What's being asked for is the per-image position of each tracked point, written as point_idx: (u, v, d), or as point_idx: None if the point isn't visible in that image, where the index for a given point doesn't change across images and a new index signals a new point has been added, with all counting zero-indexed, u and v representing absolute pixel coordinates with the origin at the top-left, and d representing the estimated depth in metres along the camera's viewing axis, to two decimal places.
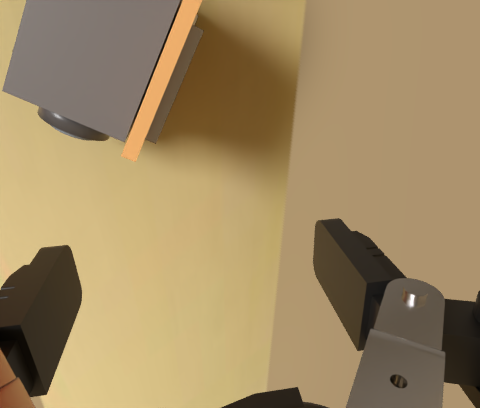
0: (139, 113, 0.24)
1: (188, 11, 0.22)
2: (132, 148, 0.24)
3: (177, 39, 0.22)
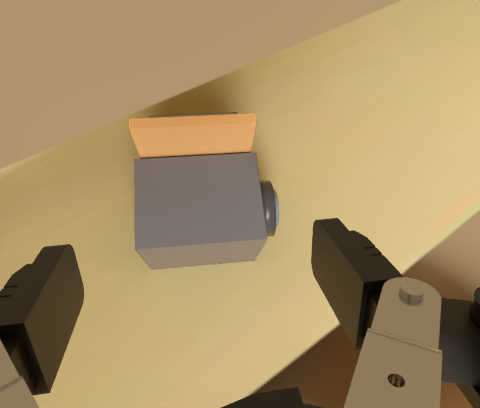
0: (220, 123, 0.32)
1: (141, 122, 0.31)
2: (247, 118, 0.32)
3: (161, 121, 0.32)
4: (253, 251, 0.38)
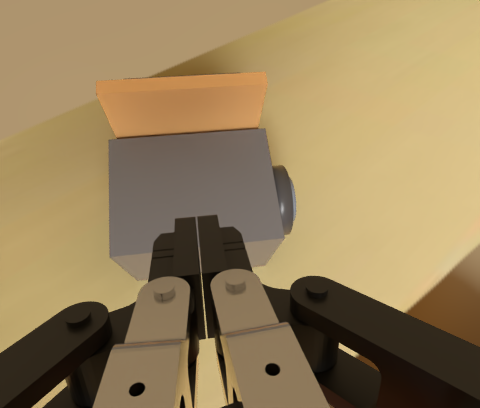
0: (220, 85, 0.24)
1: (112, 86, 0.23)
2: (254, 78, 0.24)
3: (139, 84, 0.23)
4: (264, 254, 0.30)
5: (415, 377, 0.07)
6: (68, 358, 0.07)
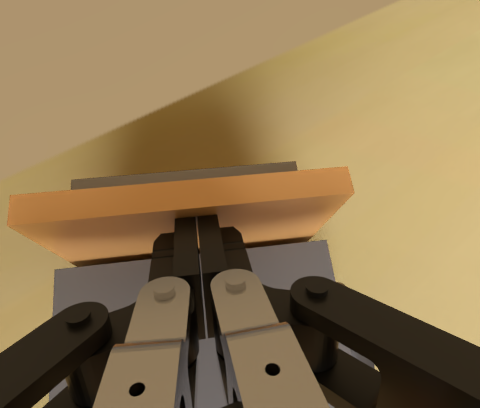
0: (261, 199, 0.12)
1: (43, 206, 0.11)
2: (328, 181, 0.12)
3: (100, 200, 0.12)
4: None
5: (415, 377, 0.07)
6: (68, 358, 0.07)
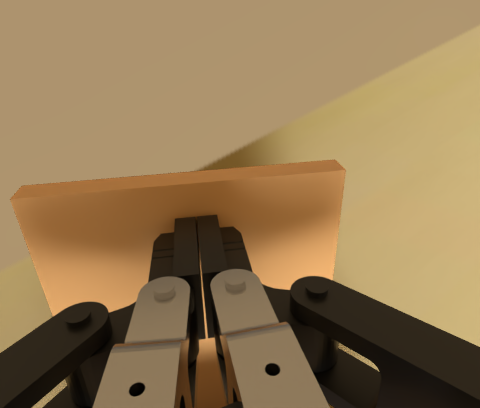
0: (256, 176, 0.12)
1: (49, 189, 0.12)
2: (318, 166, 0.13)
3: (102, 184, 0.12)
4: None
5: (415, 377, 0.07)
6: (69, 357, 0.07)
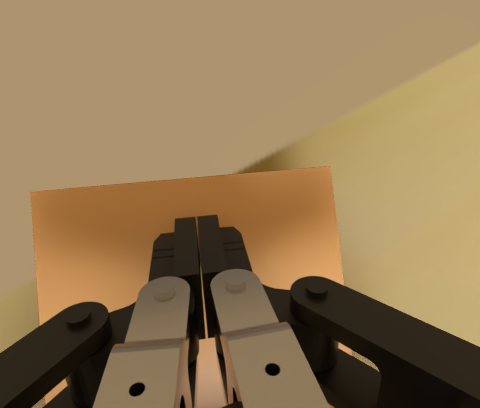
0: (249, 173, 0.14)
1: None
2: None
3: None
4: None
5: (415, 377, 0.07)
6: (69, 358, 0.07)
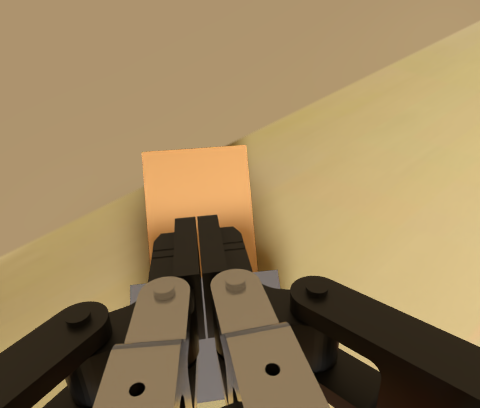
0: (216, 147, 0.39)
1: None
2: None
3: None
4: None
5: (415, 377, 0.07)
6: (68, 357, 0.07)
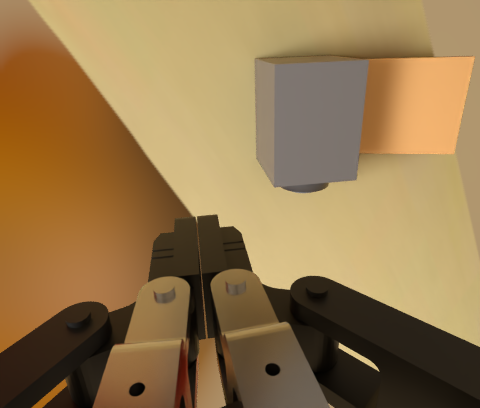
0: (459, 127, 0.43)
1: None
2: None
3: None
4: (264, 165, 0.42)
5: (415, 377, 0.07)
6: (68, 358, 0.07)
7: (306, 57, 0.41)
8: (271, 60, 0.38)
